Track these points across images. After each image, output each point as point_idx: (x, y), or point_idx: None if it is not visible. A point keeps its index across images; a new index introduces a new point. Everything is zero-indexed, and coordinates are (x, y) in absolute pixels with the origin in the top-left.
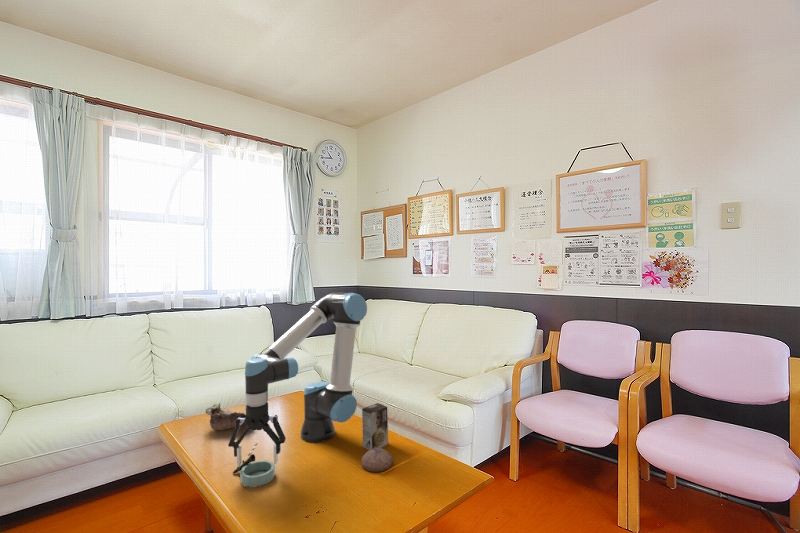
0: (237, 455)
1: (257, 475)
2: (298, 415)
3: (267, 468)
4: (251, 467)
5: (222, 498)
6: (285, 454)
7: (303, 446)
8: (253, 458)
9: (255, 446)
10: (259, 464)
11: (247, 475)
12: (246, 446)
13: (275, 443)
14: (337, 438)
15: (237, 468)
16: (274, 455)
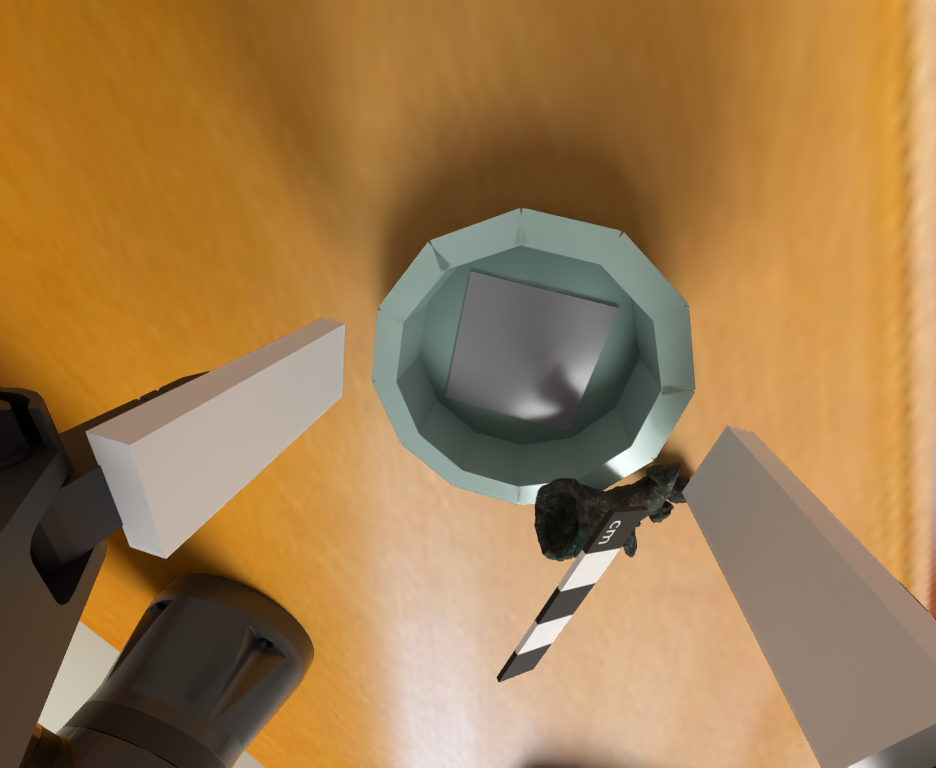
0: (859, 551)
1: (527, 243)
2: (346, 757)
3: (449, 421)
4: (567, 461)
5: (900, 110)
6: (362, 544)
7: (282, 569)
8: (552, 514)
9: (528, 638)
10: (503, 467)
11: (633, 288)
12: (566, 688)
13: (29, 480)
14: (140, 560)
15: (667, 508)
16: (269, 358)
